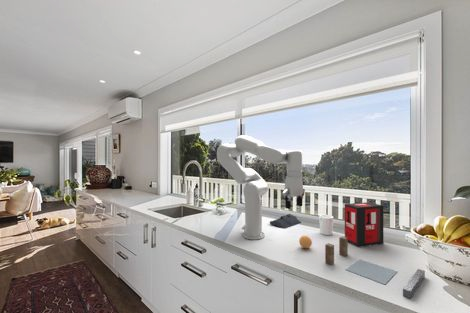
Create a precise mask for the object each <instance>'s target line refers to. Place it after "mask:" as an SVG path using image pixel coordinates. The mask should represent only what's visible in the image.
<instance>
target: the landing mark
mask: <svg viewBox="0 0 470 313" xmlns="http://www.w3.org/2000/svg"><path fill="white" fill-rule="evenodd" d="M345 271H348V272H350V273H353V274H355V275H358V276H361V277H363V278H366V279H369V280H371V281H374V282H376V283H380V284H382V285H387V284H388V283H389V281H390V280H392V279H393V277H394V276H395V275H396V274H398V271H397V270H395V269H391V268H389V267H385V266H382V265H378V264H375V263H373V262H370V261H367V260H364V259H361V258H360V259H358V260H357V261H355V262H354V263H353V264H351V265H349V266H348V267H347V268H346V269H345Z"/></svg>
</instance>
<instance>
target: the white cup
mask: <svg viewBox="0 0 470 313" xmlns="http://www.w3.org/2000/svg"><path fill="white" fill-rule="evenodd" d="M318 217H319V220H318V221H319V222H318V223H319V232H320V234H322V235H325V236H332V235H333V230H334V216H333V215H329V214H319V216H318Z"/></svg>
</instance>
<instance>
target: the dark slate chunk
mask: <svg viewBox="0 0 470 313" xmlns="http://www.w3.org/2000/svg"><path fill="white" fill-rule="evenodd" d="M269 224H270V225H273V226H276V227H277V228H280V229H284V230H285V229H288V228H291V227H294V226H297V225H299V224H302V221H300V220H299V219H298V217H296V216H295V215H293V214H291V213H288V214H286V215H282V216H280V217H279V218H277V219H275V220H270V221H269Z"/></svg>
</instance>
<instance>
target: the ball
mask: <svg viewBox="0 0 470 313" xmlns="http://www.w3.org/2000/svg"><path fill="white" fill-rule="evenodd" d="M298 242H299V245H300V246H301V248H303V249H309V248H310V247H312V245H313V241H312V239H311V237H309V236H308V235H302V236H301V237H300V238H299V240H298Z"/></svg>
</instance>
